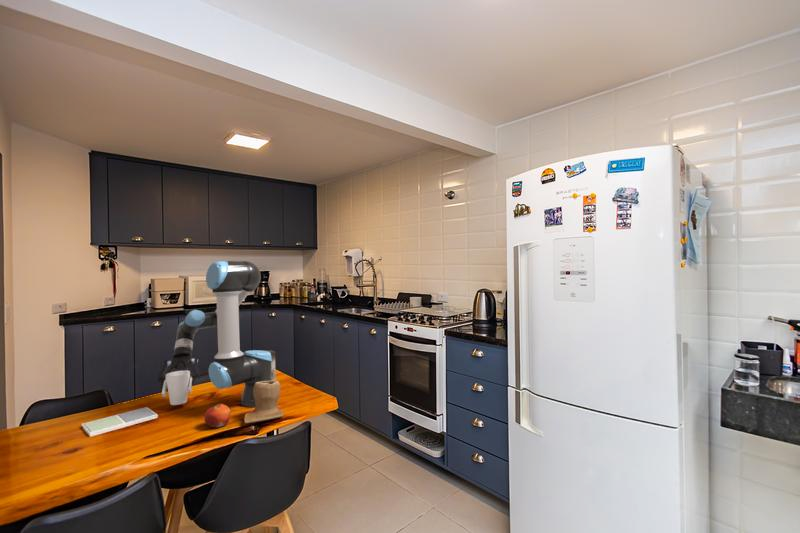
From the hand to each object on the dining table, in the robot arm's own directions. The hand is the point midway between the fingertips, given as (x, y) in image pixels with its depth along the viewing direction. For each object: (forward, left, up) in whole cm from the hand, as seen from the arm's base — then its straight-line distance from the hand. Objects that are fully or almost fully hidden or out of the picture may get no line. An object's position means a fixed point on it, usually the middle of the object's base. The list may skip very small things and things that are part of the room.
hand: (176, 393), depth 163 cm
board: (+4, +19, -7) cm, 21 cm away
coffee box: (+6, -46, -7) cm, 46 cm away
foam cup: (+3, -2, -5) cm, 6 cm away
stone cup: (-40, -18, -7) cm, 44 cm away
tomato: (-31, -4, -7) cm, 32 cm away
